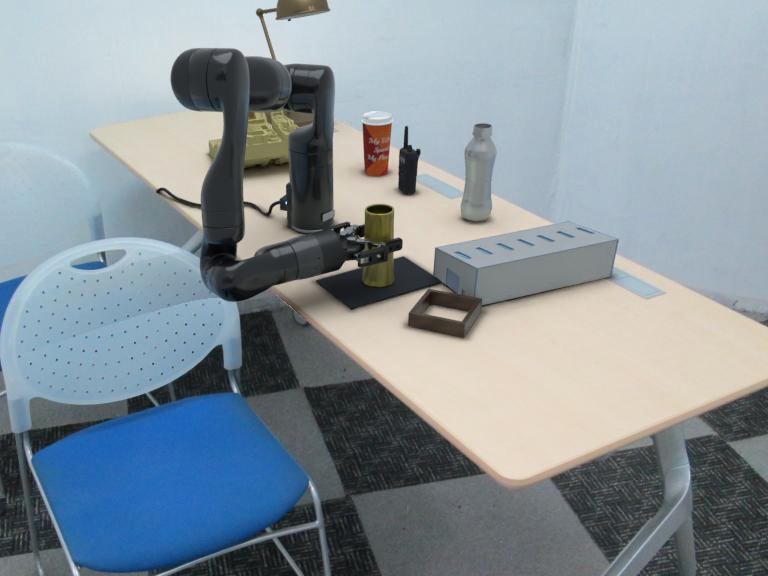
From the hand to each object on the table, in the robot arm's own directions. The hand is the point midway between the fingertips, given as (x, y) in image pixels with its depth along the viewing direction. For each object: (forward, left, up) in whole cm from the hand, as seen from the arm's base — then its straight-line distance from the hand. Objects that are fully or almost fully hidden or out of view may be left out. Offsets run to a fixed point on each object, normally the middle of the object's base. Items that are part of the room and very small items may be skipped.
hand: (388, 235), depth 158 cm
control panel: (-57, +49, -9) cm, 75 cm away
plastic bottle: (+6, +35, -9) cm, 37 cm away
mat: (-1, -2, -9) cm, 9 cm away
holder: (+15, -10, -9) cm, 20 cm away
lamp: (-66, +88, -9) cm, 110 cm away
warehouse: (+23, +11, -9) cm, 27 cm away
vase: (-1, -2, -9) cm, 9 cm away
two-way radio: (-13, +45, -9) cm, 48 cm away
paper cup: (-25, +54, -9) cm, 60 cm away
